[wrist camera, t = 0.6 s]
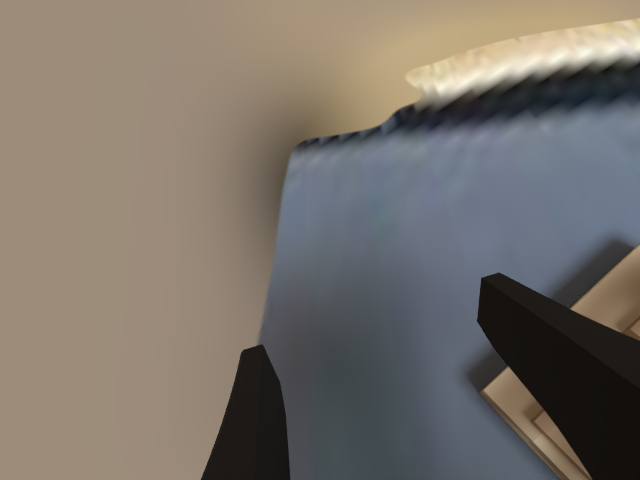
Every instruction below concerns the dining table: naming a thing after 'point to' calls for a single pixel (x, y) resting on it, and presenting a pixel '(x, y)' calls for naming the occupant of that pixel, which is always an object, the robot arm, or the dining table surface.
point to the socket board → (522, 408)
